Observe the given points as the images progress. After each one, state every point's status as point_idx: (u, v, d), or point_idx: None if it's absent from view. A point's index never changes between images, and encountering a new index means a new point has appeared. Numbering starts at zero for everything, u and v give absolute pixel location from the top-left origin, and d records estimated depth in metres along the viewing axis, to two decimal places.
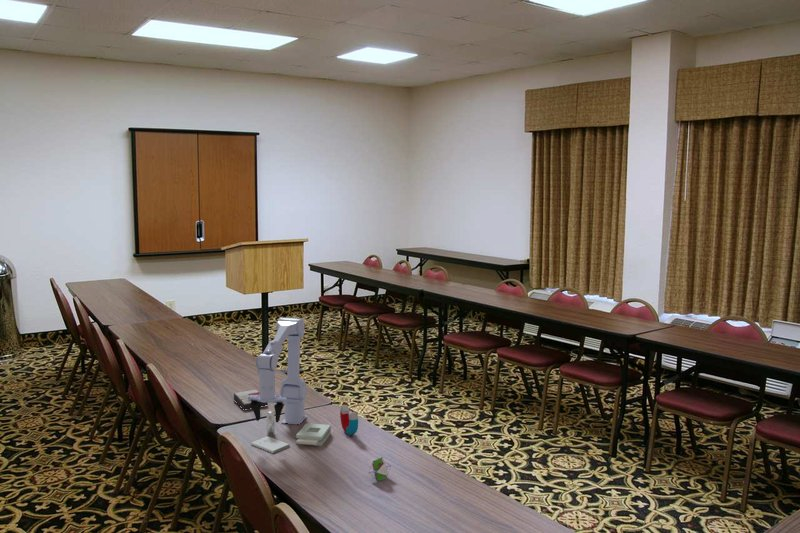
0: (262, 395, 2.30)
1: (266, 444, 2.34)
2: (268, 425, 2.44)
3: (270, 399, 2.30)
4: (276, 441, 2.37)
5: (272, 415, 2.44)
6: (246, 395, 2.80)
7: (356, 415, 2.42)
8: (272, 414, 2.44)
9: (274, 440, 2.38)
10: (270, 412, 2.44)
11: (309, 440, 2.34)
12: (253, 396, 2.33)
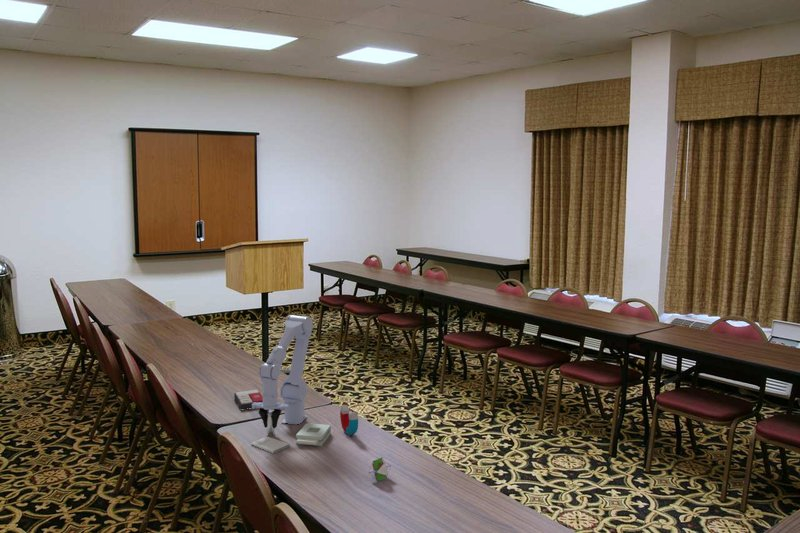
0: (265, 402, 2.42)
1: (266, 444, 2.34)
2: (268, 425, 2.44)
3: (273, 406, 2.42)
4: (276, 441, 2.37)
5: None
6: (246, 395, 2.80)
7: (356, 415, 2.42)
8: None
9: (274, 440, 2.37)
10: (270, 412, 2.44)
11: (309, 440, 2.34)
12: (256, 403, 2.45)
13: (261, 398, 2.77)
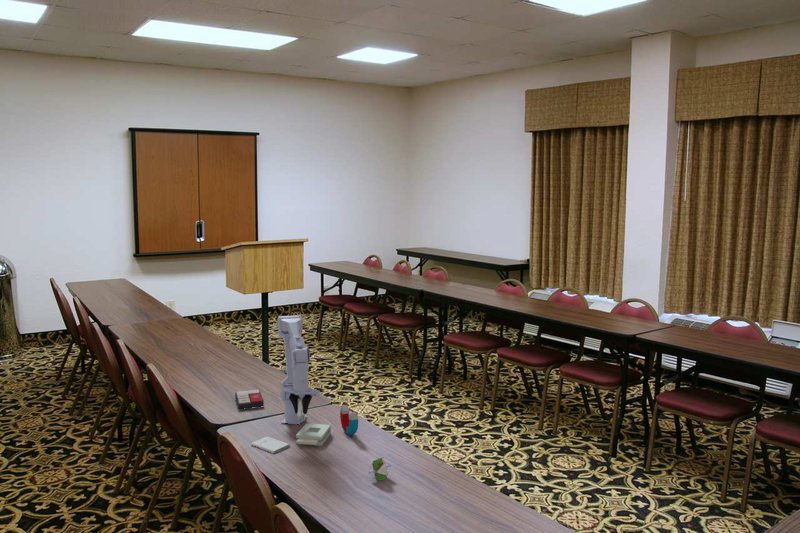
0: (296, 388, 2.38)
1: (266, 444, 2.34)
2: (299, 411, 2.40)
3: (304, 392, 2.38)
4: (276, 441, 2.36)
5: None
6: (245, 394, 2.81)
7: (356, 415, 2.42)
8: None
9: (274, 440, 2.37)
10: (301, 398, 2.40)
11: (309, 440, 2.34)
12: (287, 389, 2.41)
13: (259, 398, 2.77)
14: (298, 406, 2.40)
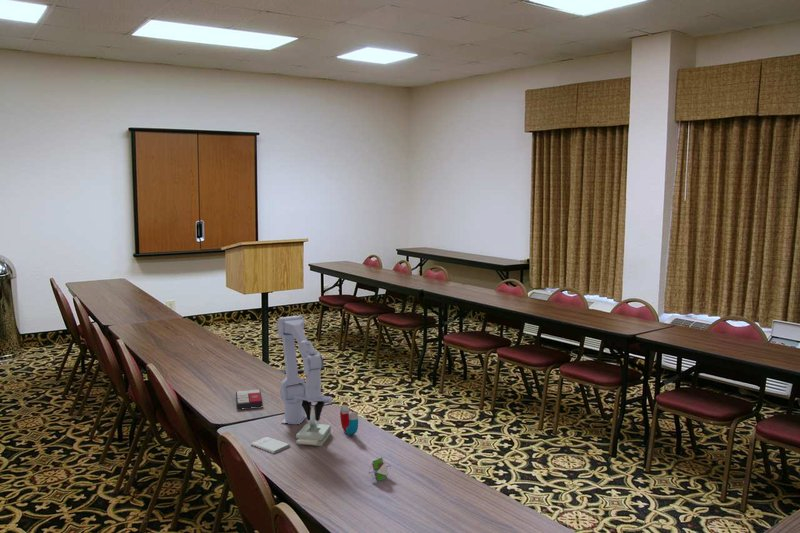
0: (308, 394, 2.37)
1: (266, 444, 2.34)
2: (311, 418, 2.39)
3: (316, 399, 2.37)
4: (276, 441, 2.36)
5: (315, 408, 2.39)
6: (245, 394, 2.81)
7: (356, 415, 2.42)
8: (315, 406, 2.39)
9: (274, 440, 2.37)
10: (313, 404, 2.40)
11: (309, 440, 2.34)
12: (299, 396, 2.40)
13: (259, 398, 2.77)
14: (311, 413, 2.39)
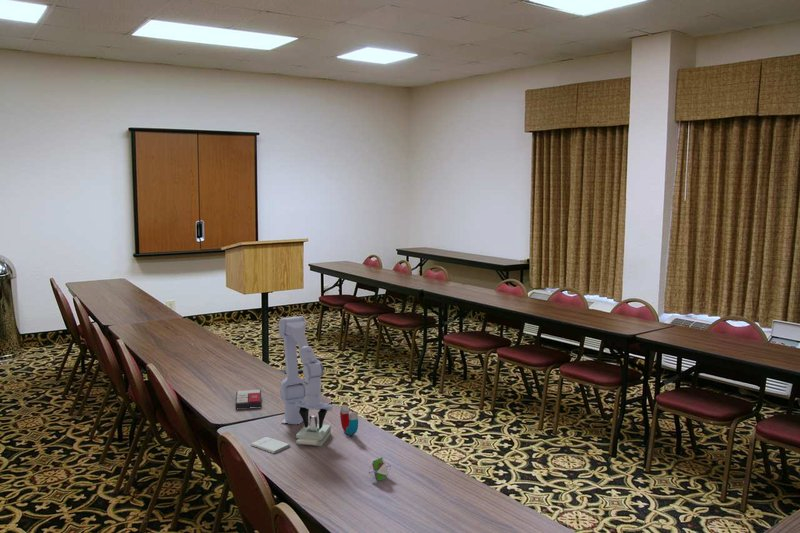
0: (309, 402, 2.37)
1: (266, 444, 2.33)
2: (311, 430, 2.40)
3: (316, 406, 2.37)
4: (276, 441, 2.36)
5: (315, 420, 2.40)
6: (245, 394, 2.81)
7: (356, 415, 2.42)
8: (315, 419, 2.40)
9: (274, 440, 2.37)
10: (313, 416, 2.40)
11: (309, 440, 2.34)
12: (299, 403, 2.41)
13: (257, 399, 2.76)
14: (311, 425, 2.40)
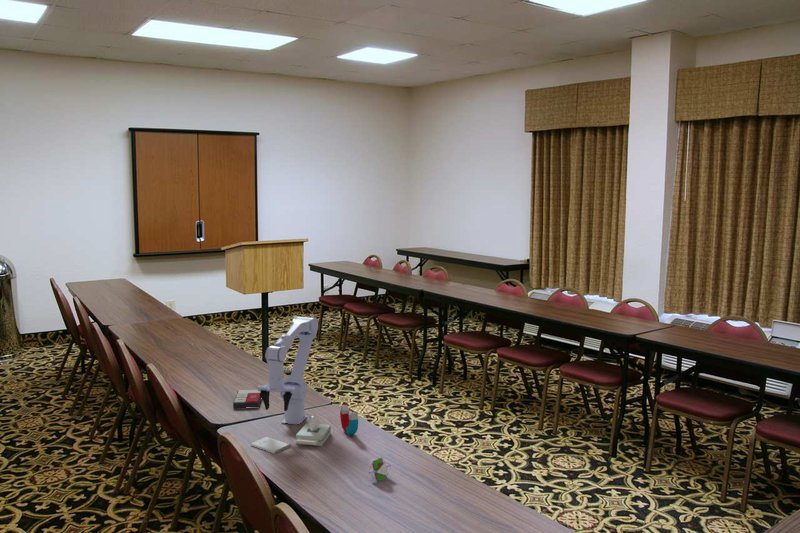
0: (271, 385, 2.42)
1: (266, 444, 2.33)
2: (311, 430, 2.40)
3: (279, 389, 2.42)
4: (276, 441, 2.36)
5: (315, 420, 2.40)
6: (245, 394, 2.82)
7: (356, 415, 2.42)
8: (315, 418, 2.40)
9: (274, 440, 2.37)
10: (313, 416, 2.40)
11: (309, 440, 2.34)
12: (262, 386, 2.46)
13: (256, 399, 2.76)
14: (311, 425, 2.40)
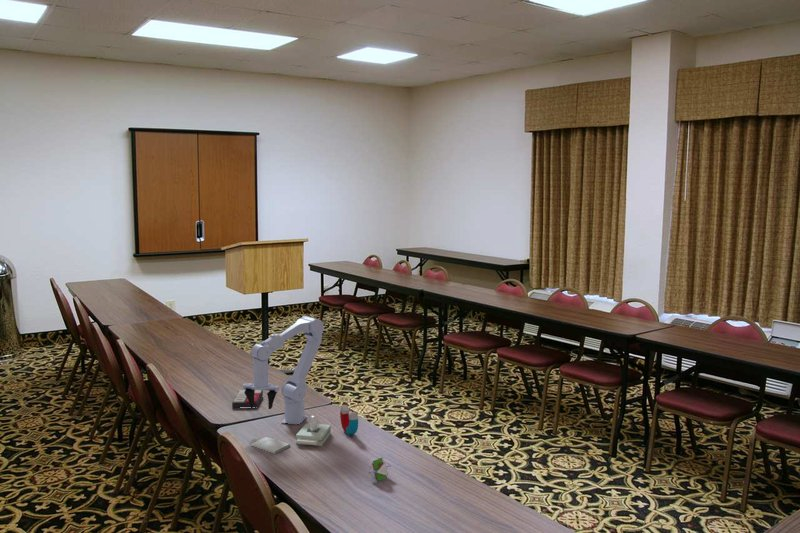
0: (256, 383, 2.45)
1: (266, 445, 2.33)
2: (311, 430, 2.40)
3: (263, 387, 2.45)
4: (276, 441, 2.36)
5: (315, 420, 2.40)
6: None
7: (356, 415, 2.42)
8: (315, 419, 2.40)
9: (274, 440, 2.37)
10: (313, 416, 2.40)
11: (309, 440, 2.34)
12: (247, 384, 2.48)
13: (255, 399, 2.76)
14: (311, 425, 2.40)
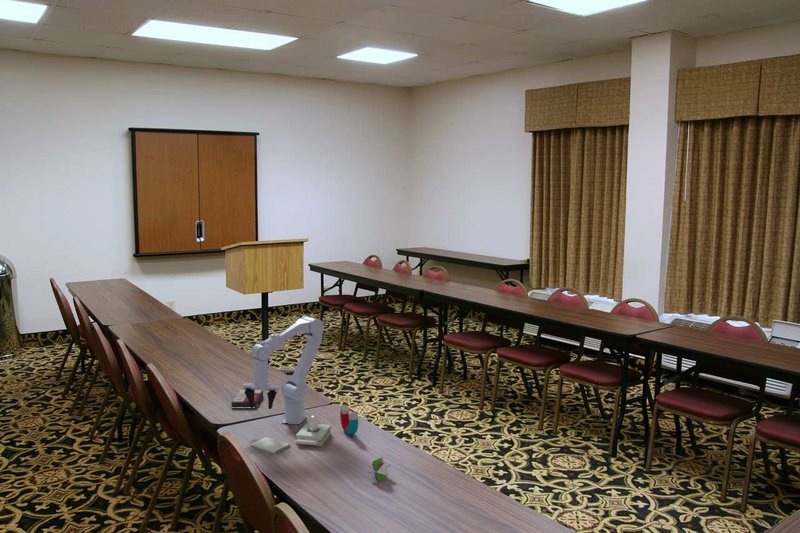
0: (256, 383, 2.45)
1: (266, 445, 2.33)
2: (311, 430, 2.40)
3: (263, 387, 2.45)
4: (276, 441, 2.36)
5: (315, 420, 2.40)
6: None
7: (356, 415, 2.42)
8: (315, 419, 2.40)
9: (274, 440, 2.37)
10: (313, 416, 2.40)
11: (309, 440, 2.34)
12: (247, 384, 2.48)
13: (254, 399, 2.76)
14: (311, 425, 2.40)
